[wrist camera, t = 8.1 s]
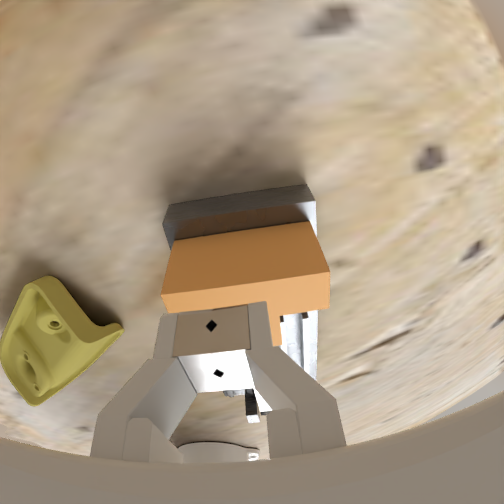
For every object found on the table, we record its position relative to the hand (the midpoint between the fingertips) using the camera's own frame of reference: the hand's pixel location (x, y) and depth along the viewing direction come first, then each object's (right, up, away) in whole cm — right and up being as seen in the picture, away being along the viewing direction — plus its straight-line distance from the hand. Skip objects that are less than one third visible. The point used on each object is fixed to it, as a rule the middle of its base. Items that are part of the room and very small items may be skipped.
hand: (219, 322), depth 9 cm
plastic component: (-23, -7, +24) cm, 35 cm away
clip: (+1, +1, +16) cm, 16 cm away
